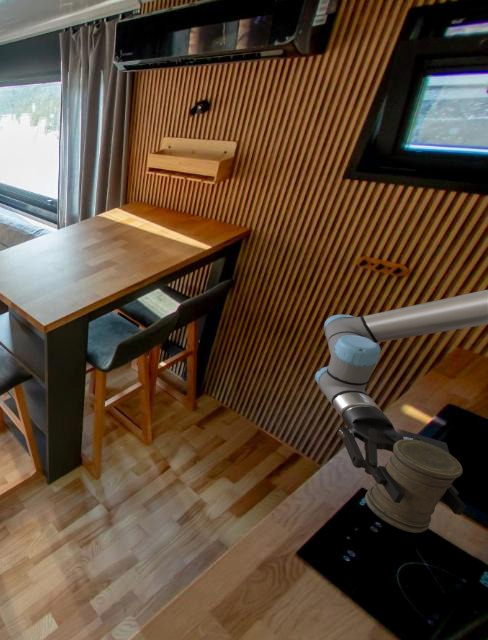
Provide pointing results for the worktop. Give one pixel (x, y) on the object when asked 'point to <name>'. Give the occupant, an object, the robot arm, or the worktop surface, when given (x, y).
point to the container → (414, 484)
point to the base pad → (427, 440)
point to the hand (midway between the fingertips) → (429, 504)
